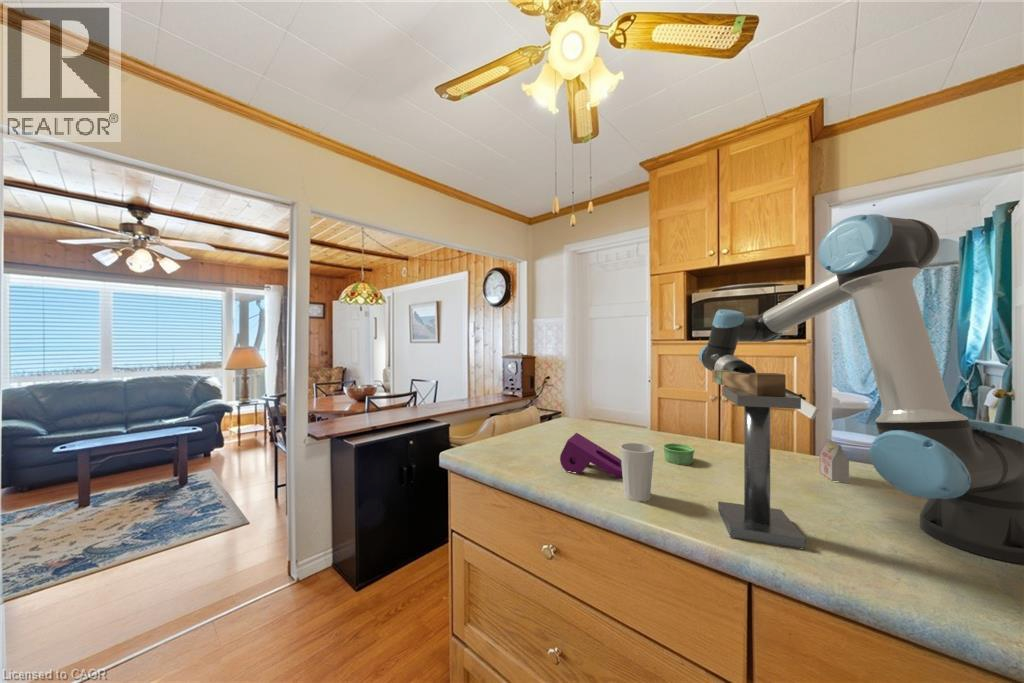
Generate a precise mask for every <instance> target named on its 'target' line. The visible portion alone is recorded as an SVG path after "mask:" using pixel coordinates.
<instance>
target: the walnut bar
mask: <svg viewBox="0 0 1024 683" xmlns="http://www.w3.org/2000/svg"><path fill="white" fill-rule="evenodd" d="M786 377H787V376H786V374H784V373H777V372H756V373H749V374H745V373H739V372H736V371H731V370H712V371H711V382H712V383H716V384H717V385H722V386H724V385H726V386H730V387H733V388H737V389H741V390H745V391H748V392H749V393H751V394H754V395H771V396H786V389H787V388H786V386H787V384H786Z"/></svg>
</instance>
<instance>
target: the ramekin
mask: <svg viewBox="0 0 1024 683" xmlns="http://www.w3.org/2000/svg"><path fill="white" fill-rule="evenodd" d="M663 450H664V460H665V461H666V462H668V463H670V462H671V464H673V463H674V465H679V464H680V465H681V466H684V465H685V466H686V465H688V464H689V465H691V464H692V463H693V460H694V454H695V448H694V447H692V446H691V445H688V444H682V443H675V442H673V443H672V442H671V443H665V444H663Z"/></svg>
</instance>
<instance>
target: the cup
mask: <svg viewBox="0 0 1024 683" xmlns="http://www.w3.org/2000/svg"><path fill="white" fill-rule="evenodd" d="M619 450H620V459H621V462H622V475H623V478H622V486H623V496H624V495H625V496H624V497H625V498H626V497H627V498H626V499H628V498H629V499H628V500H630V499H631V500H630V501H633V500H635V501H634V502H640V501H643V502H648V501H650V500H651V498H652V497H651V496H652V495H651V494H652V479H653V478H652V477H653V464H654V456H655V455H654V454H655V448H654V447H653V446H651V445H649V444H644V443H639V442H625V443H622V444H620V446H619ZM649 499H650V500H649ZM647 500H648V501H647Z"/></svg>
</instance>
